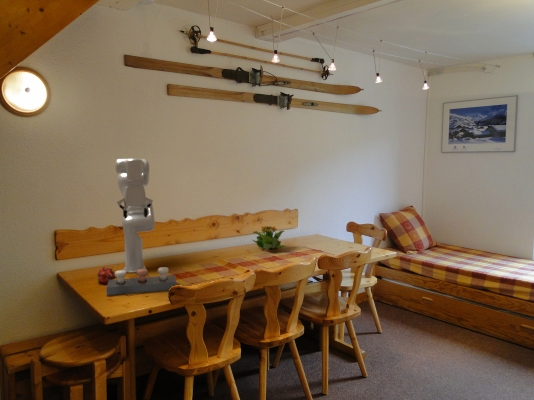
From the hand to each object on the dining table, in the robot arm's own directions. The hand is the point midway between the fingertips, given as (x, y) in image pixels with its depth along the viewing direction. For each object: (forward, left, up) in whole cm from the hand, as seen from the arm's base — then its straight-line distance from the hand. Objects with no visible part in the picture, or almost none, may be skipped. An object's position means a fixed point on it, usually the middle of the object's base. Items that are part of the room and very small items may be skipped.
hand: (135, 217), depth 208 cm
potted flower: (-53, +86, -35) cm, 107 cm away
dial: (+9, +2, -31) cm, 33 cm away
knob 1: (+9, -8, -31) cm, 34 cm away
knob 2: (+9, +12, -31) cm, 35 cm away
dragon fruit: (-7, -16, -35) cm, 38 cm away
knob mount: (+9, +2, -34) cm, 36 cm away
